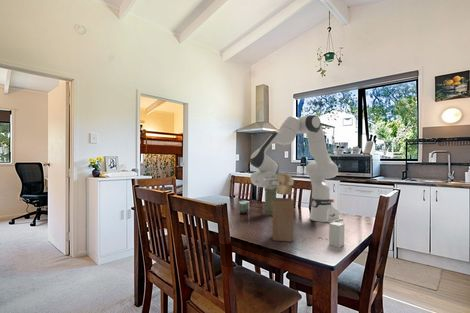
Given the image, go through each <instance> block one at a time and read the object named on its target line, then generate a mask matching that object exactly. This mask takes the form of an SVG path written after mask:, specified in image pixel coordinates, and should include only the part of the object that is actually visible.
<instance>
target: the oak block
mask: <svg viewBox="0 0 470 313" xmlns="http://www.w3.org/2000/svg"><path fill="white" fill-rule="evenodd" d="M291 178H292V174H290V173H278V174H277V181H280V182H281V185H277V191H276V195H277V194H278V195H283V196H285V195H291V194H292V193H291V192H292V185H291Z"/></svg>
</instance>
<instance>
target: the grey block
mask: <svg viewBox="0 0 470 313" xmlns="http://www.w3.org/2000/svg"><path fill="white" fill-rule="evenodd" d="M328 223H329V222H328ZM328 228H329V229H328V231H329V233H328V245H329V246H333V247H336V248H341V247H342V246H345V223H342V222H338V221H336V222H332V223H329V224H328Z"/></svg>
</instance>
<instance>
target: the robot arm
mask: <svg viewBox="0 0 470 313" xmlns="http://www.w3.org/2000/svg"><path fill="white" fill-rule="evenodd" d="M321 125H322V124H321V120H320V118H319V116H318V115H316V114H308V115H302V116H300V117H297V116H293V115H291V116H288V117H287V118H285V120H284V121H283V123H282V124H281V125H280V127H279V129H278V130H274V131H272V132H270V134H268V136H266V138H265V139H264V140H263V142H262V143H260V145H259V146H258V147H257V148H256V149H255V150H254V151H253V152H252V153H251V155H250V157H249V162H250V166H253V167H255V168H256V169H257V171H254V172H252V173H251V175H249V176H250V182H251V184H253V186H256V187H259V188H263V189H265V188H268V189H273V188H276V187H277V185H281V182H280V181H277V173H279V164H278V162H276V161H275V160H274V159H272V158H271V157H269V155H267V151H268V149H269V148H271V146H272V145H273V143H274V144H278V145H283V146H288V145H290V144H291V143H293V141H294V140H295V138H296V137H297V135H301V134H306V138H307V144H308V151H309V154H310V156H311V157H312V158H313V160H314V161H311V162H309V163H307V164H306V166H305V173H306V174H307V175H308V177H309V180H310V183H311V200H310V201H311V209H310V214H309V220H310V221H313V222H314V221H315V222H320V223H332V222H339V221H343V218H344V217H341V216H340V212H339V209H337V208H336V207H335V206H334V205H333V204H332V203H334V202H335V199H330V194H331V193H330V191H331V190H330V186H329V184H327V181H326V180H327V179H333V178H335V177H337V175H338V173H339V167H338V165H337V164H336V163H335V162H334V161H333V160H332V158H331V156H330V154H329V152H328V150H327V149H328V148H327V144H326V138H325V134H324V130H323V128H322V126H321ZM294 181H295V180H294V178H292V177H291V186H293V185H294Z"/></svg>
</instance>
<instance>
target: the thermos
mask: <svg viewBox="0 0 470 313" xmlns="http://www.w3.org/2000/svg"><path fill="white" fill-rule="evenodd" d="M277 174H279V172H277ZM264 191H265V193H264V205H263V208H264V209H263V210H264V213H263V214H264V215H266V216H269V217H270V216H272V217H273V200H274V198H277V187H276V188H273V189H268V188H264Z"/></svg>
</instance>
